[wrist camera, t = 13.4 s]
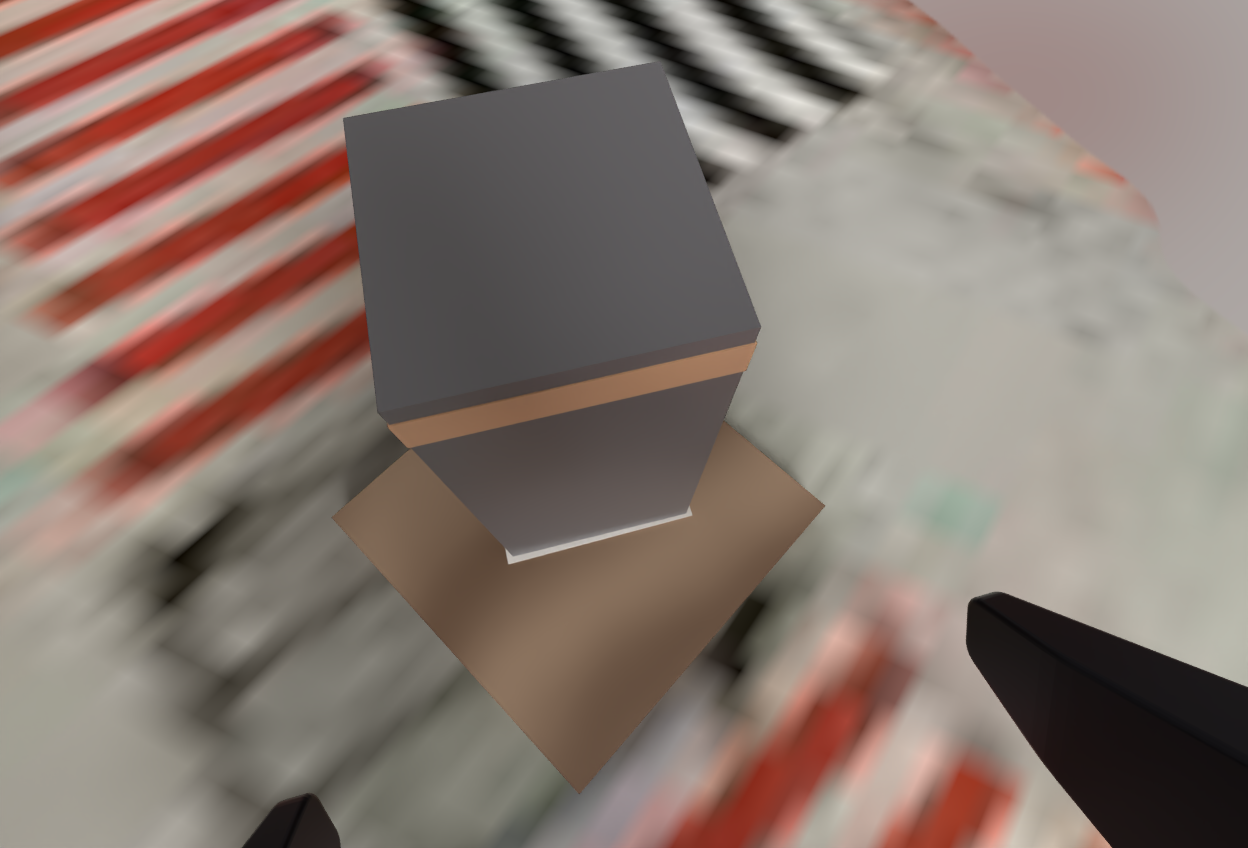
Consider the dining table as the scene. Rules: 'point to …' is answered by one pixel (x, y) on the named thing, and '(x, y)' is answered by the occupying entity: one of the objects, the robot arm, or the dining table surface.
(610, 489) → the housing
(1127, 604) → the dining table surface
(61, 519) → the dining table surface
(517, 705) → the board
